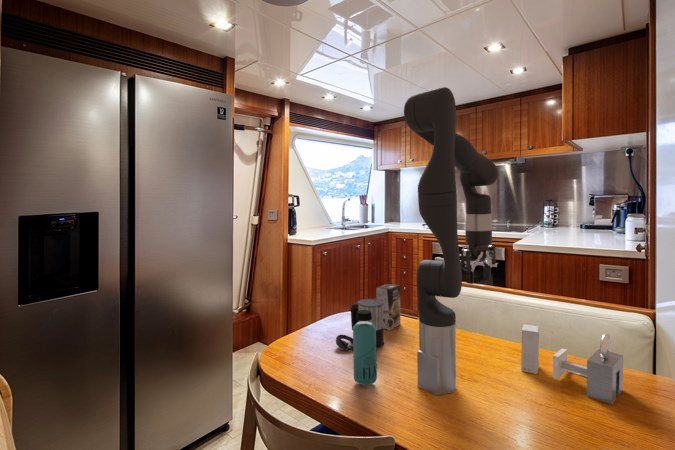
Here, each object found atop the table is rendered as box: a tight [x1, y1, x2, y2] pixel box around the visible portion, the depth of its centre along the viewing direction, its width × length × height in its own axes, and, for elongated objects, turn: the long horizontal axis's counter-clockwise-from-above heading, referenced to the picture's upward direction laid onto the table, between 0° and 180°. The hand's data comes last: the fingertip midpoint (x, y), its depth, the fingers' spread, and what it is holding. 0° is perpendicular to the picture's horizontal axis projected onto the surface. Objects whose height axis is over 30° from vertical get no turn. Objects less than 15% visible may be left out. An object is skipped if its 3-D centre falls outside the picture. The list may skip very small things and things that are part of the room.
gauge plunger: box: [552, 348, 587, 380], centre depth 91 cm, size 11×11×6 cm
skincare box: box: [520, 323, 540, 375], centre depth 99 cm, size 6×4×12 cm
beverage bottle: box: [352, 310, 378, 386], centre depth 92 cm, size 6×7×20 cm
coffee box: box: [375, 283, 401, 331], centre depth 137 cm, size 9×6×16 cm
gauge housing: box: [566, 332, 624, 405], centre depth 90 cm, size 13×15×15 cm
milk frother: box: [335, 298, 385, 351], centre depth 118 cm, size 14×16×15 cm
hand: (478, 281), depth 106 cm, fingers open, 8 cm apart
